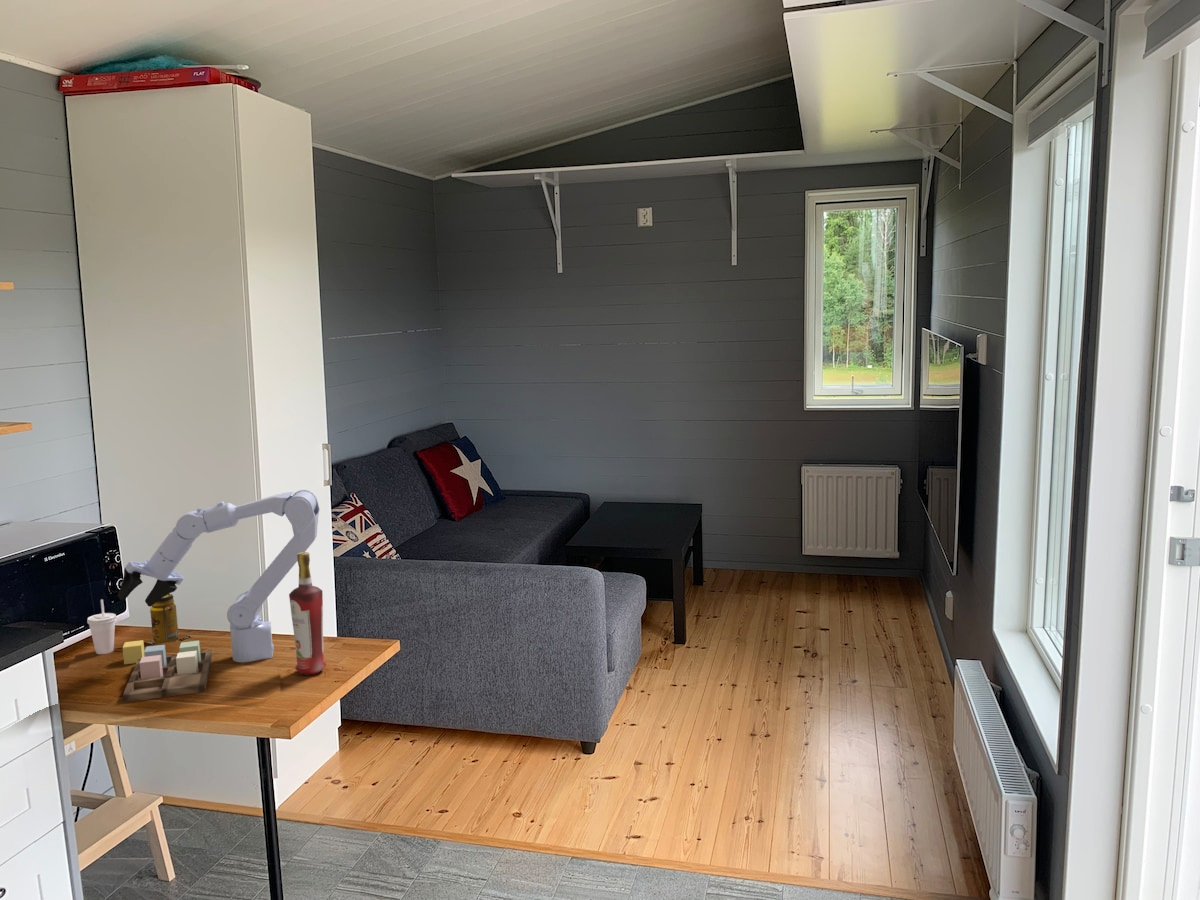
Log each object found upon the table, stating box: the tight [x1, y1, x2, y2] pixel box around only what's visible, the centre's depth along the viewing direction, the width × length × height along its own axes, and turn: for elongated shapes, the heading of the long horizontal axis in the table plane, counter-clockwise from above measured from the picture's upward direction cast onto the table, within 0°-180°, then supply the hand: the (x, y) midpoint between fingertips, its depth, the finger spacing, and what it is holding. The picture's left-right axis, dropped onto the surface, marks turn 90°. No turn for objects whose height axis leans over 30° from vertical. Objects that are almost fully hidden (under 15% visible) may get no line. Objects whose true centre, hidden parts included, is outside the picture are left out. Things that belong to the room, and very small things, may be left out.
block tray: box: [122, 649, 213, 703], centre depth 216 cm, size 16×24×2 cm
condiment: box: [145, 593, 192, 645], centre depth 245 cm, size 7×8×12 cm
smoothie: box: [86, 598, 117, 655], centre depth 234 cm, size 6×6×14 cm
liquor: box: [288, 551, 327, 676], centre depth 218 cm, size 7×7×28 cm
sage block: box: [179, 640, 201, 662], centre depth 224 cm, size 4×4×5 cm
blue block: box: [144, 644, 167, 666], centre depth 222 cm, size 4×4×5 cm
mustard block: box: [122, 639, 145, 665], centre depth 228 cm, size 4×4×5 cm
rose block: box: [140, 655, 163, 680], centre depth 215 cm, size 4×4×5 cm
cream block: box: [176, 651, 198, 675], centre depth 217 cm, size 4×4×5 cm
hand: (134, 601), depth 223 cm, fingers open, 7 cm apart
